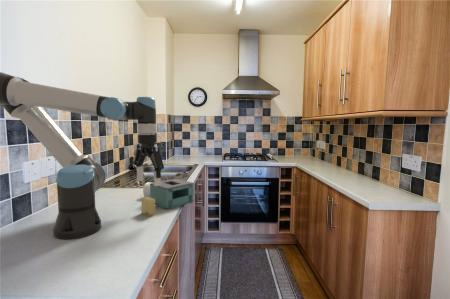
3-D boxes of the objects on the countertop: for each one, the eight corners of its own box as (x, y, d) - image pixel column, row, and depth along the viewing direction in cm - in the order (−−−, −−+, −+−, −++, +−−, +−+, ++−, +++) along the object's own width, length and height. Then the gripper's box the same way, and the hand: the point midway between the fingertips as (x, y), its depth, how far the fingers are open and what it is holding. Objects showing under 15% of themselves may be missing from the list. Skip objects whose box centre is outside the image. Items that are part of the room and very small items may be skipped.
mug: (160, 200, 131) (160, 185, 131) (143, 198, 133) (142, 184, 133) (170, 194, 143) (169, 180, 142) (153, 193, 145) (153, 179, 144)
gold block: (155, 214, 110) (155, 199, 109) (149, 216, 108) (148, 200, 107) (147, 211, 114) (147, 196, 113) (141, 213, 112) (141, 197, 111)
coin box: (167, 209, 117) (166, 188, 116) (150, 203, 126) (150, 183, 125) (193, 202, 129) (193, 182, 128) (176, 196, 138) (176, 178, 137)
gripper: (172, 134, 102) (173, 186, 104) (140, 133, 119) (141, 177, 121) (156, 135, 97) (157, 189, 99) (124, 133, 113) (126, 180, 115)
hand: (148, 183), depth 110 cm, fingers open, 13 cm apart
